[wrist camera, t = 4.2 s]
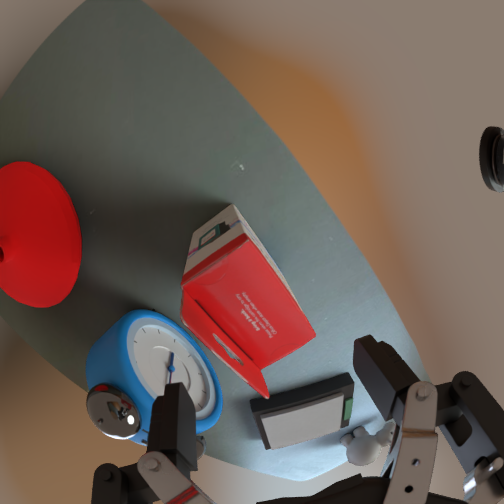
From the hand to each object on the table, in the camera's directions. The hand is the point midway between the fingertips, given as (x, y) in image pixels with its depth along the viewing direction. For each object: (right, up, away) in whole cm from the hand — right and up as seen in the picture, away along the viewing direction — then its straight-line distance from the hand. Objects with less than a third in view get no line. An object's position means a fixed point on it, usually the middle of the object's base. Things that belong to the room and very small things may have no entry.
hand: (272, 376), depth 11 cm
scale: (+7, -20, +26) cm, 34 cm away
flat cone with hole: (-25, +8, +12) cm, 28 cm away
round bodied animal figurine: (+23, -31, +33) cm, 51 cm away
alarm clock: (-11, -4, +18) cm, 22 cm away
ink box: (-2, +6, +16) cm, 17 cm away
